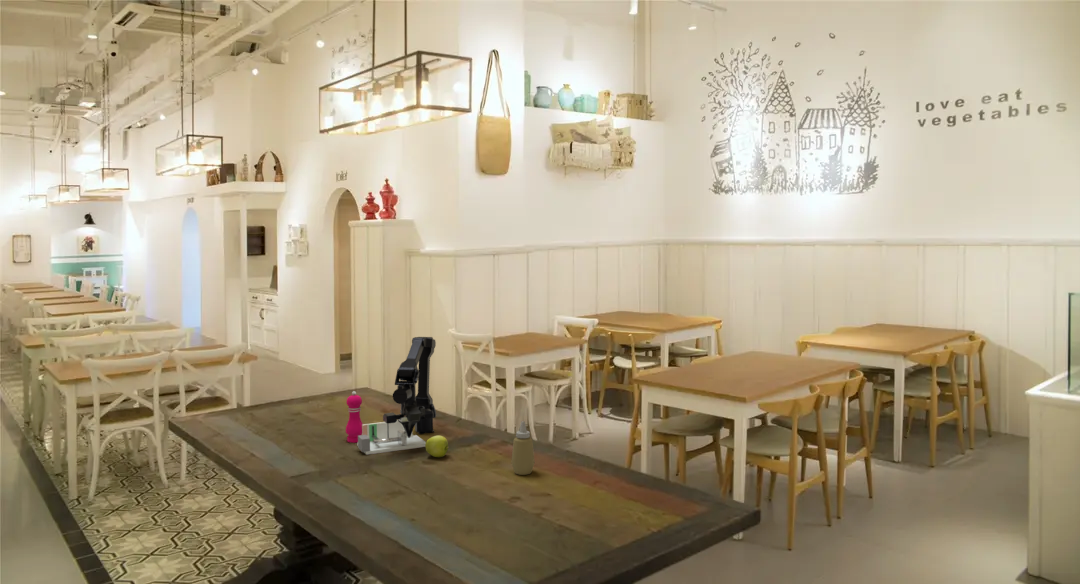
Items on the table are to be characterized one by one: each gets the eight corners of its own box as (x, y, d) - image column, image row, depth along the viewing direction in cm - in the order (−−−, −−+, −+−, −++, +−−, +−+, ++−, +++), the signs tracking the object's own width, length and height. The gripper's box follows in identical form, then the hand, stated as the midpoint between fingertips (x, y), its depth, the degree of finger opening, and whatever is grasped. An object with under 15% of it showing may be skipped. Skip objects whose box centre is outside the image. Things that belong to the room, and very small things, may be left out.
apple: (446, 460, 282) (446, 439, 281) (422, 459, 284) (422, 438, 283) (453, 454, 289) (452, 433, 289) (429, 453, 291) (429, 432, 291)
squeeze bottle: (537, 470, 271) (537, 419, 269) (530, 477, 263) (529, 425, 262) (516, 468, 273) (516, 418, 272) (508, 475, 266) (507, 423, 264)
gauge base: (416, 437, 312) (416, 418, 312) (427, 446, 300) (427, 425, 300) (353, 446, 301) (353, 425, 300) (362, 455, 289) (361, 433, 288)
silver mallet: (397, 437, 307) (397, 422, 307) (406, 444, 297) (406, 429, 296) (368, 441, 302) (367, 426, 301) (375, 449, 291) (375, 433, 291)
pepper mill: (366, 438, 312) (365, 389, 310) (360, 443, 305) (359, 393, 303) (349, 437, 312) (348, 389, 311) (343, 442, 305) (342, 393, 304)
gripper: (390, 404, 287) (391, 446, 288) (438, 399, 295) (438, 439, 297) (382, 398, 297) (383, 438, 298) (428, 394, 305) (429, 432, 307)
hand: (408, 437), depth 300 cm, fingers closed
